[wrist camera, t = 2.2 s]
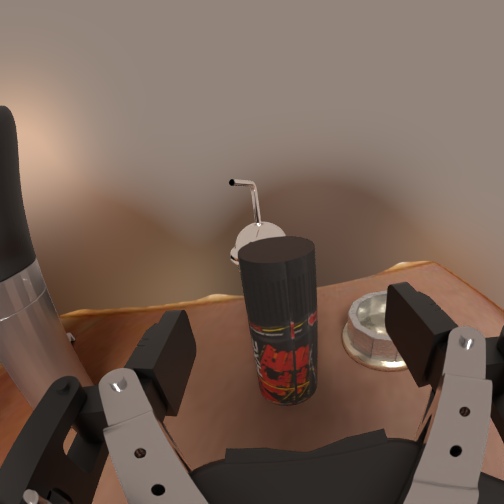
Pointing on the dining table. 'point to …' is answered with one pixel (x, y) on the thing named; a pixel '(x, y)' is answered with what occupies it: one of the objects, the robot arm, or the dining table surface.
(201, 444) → the dining table surface
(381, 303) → the silver bowl
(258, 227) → the cup with straw
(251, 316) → the deodorant
